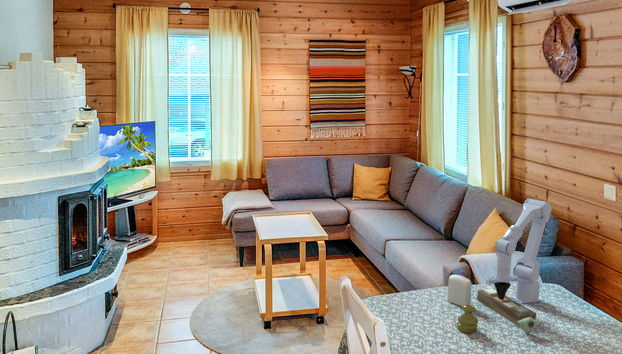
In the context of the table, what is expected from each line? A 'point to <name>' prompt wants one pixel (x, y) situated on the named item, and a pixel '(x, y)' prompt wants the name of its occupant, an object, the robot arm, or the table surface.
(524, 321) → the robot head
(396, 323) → the table surface
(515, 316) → the keyboard
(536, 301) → the robot arm
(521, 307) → the slate key
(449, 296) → the white rounded slab
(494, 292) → the ivory key
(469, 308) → the olive green vase
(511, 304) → the sage key
